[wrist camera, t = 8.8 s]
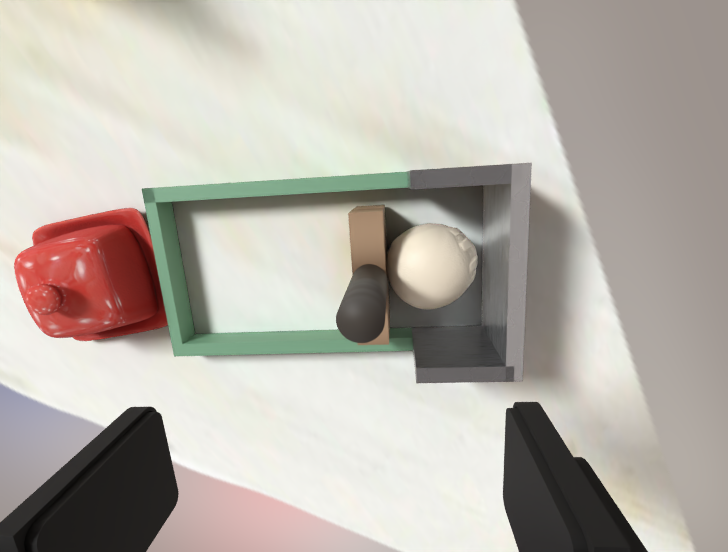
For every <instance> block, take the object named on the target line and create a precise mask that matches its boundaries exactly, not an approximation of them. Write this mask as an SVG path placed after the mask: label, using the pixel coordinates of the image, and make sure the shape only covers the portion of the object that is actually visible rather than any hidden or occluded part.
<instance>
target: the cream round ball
mask: <svg viewBox="0 0 728 552" xmlns="http://www.w3.org/2000/svg"><path fill="white" fill-rule="evenodd" d="M477 264H478V263H477V253H476V248H475V246H474V244H473V243H472V242H471V241H470V240H469V238H467V237H466V236H465V235H464V234H463V233H462V232H461V231H460V230H459V229H458V228H453V227H448V226H446V225H442V224H433V223H428V224H423V225H418V226H415V227H413V228H410V229H408V230H406V231H405V232H404V233H402V234H401V235H400V236H399V237H397V238H396V239H395V240H394V241H393V242H392V244H391V246H390V249H389V251H388V254H387V260H386V266H387V275H388V279H389V282H390V284H391V286H392V288H393V290H394V291H395V293H396V294H397V295H398V296H399V297H400V298H401V299H402V300H403V301H404V302H406V303H407V304H409V305H411V306H413V307H416V308H419V309H425V310H430V309H436V308H440V307H444V306H446V305H449V304H450V303H452V302H454V301H455V300H457V299H458V298H459V297H461V296H462V294H463V293H464V292H465V291H466V290H467V288H468V287H469V286H470V284H471V283H472V282H473V281H474V278H475V275H476V267H477Z"/></svg>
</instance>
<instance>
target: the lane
mask: <svg viewBox="0 0 728 552" xmlns="http://www.w3.org/2000/svg"><path fill="white" fill-rule="evenodd" d="M406 187H408V186H407V172H395V173H380V174H364V175H348V176H333V177H317V178H301V179H286V180H270V181H254V182H238V183H223V184H207V185H191V186H176V187H160V188H144V189H142V193H143V198H144V203H145V209H146V214H147V219H148V224H149V229H150V234H151V239H152V245H153V250H154V255H155V260H156V265H157V270H158V276H159V281H160V286H161V291H162V296H163V301H164V306H165V312H166V317H167V322H168V327H169V332H170V337H171V342H172V348H173V353H174V356H208V355H249V354H290V353H332V352H373V351H413V338H412V329H411V328H390V331H389V345H358V344H357V343H355V342H352V341H350V340H348V339H346V338H345V337H344V336H343V335H342V334H341V333H340V331H339V330H310V331H276V332H242V333H208V334H195V330H194V325H193V319H192V313H191V308H190V302H189V296H188V291H187V285H186V279H185V274H184V268H183V263H182V257H181V251H180V246H179V240H178V234H177V229H176V223H175V217H174V212H173V206H172V202H174V201H191V200H207V199H224V198H240V197H257V196H273V195H290V194H307V193H323V192H340V191H356V190H373V189H390V188H406Z"/></svg>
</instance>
